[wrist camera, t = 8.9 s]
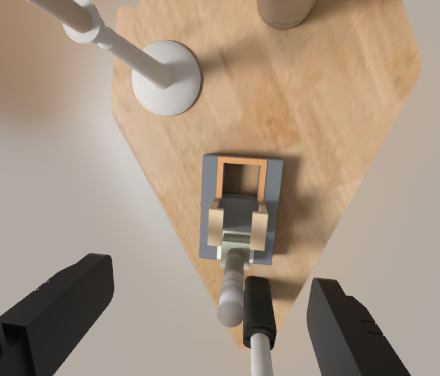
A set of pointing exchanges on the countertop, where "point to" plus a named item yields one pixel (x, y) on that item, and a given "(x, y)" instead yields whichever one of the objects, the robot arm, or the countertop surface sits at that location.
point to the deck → (240, 202)
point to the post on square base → (233, 278)
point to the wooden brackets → (256, 229)
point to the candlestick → (134, 57)
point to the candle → (259, 324)
